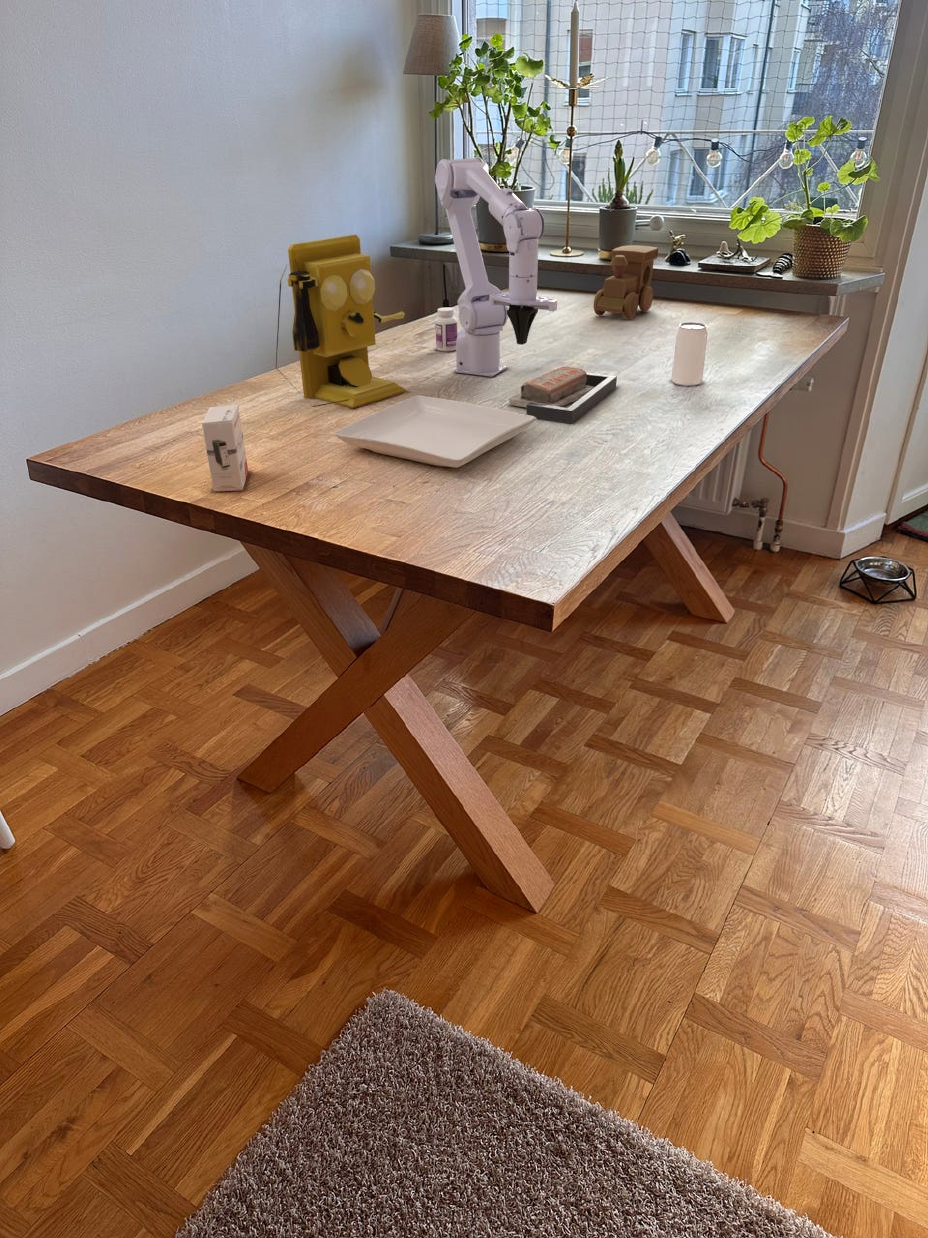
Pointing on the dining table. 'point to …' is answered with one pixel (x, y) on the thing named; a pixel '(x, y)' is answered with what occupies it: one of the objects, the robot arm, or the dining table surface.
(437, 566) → the dining table surface
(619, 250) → the wooden toy train
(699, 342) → the can
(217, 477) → the ink box
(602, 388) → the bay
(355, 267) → the vintage telephone
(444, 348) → the pill bottle
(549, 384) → the packaged product
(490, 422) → the square plate
